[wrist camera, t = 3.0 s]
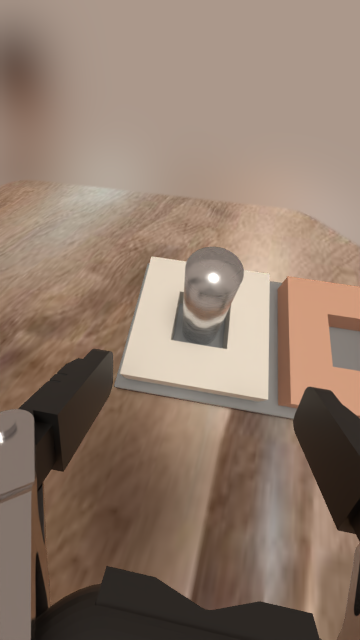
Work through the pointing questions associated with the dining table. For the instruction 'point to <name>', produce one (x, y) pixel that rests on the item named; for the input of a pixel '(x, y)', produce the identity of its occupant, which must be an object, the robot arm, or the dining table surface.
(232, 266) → the steel pin
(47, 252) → the dining table surface
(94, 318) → the dining table surface
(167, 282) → the dock board
